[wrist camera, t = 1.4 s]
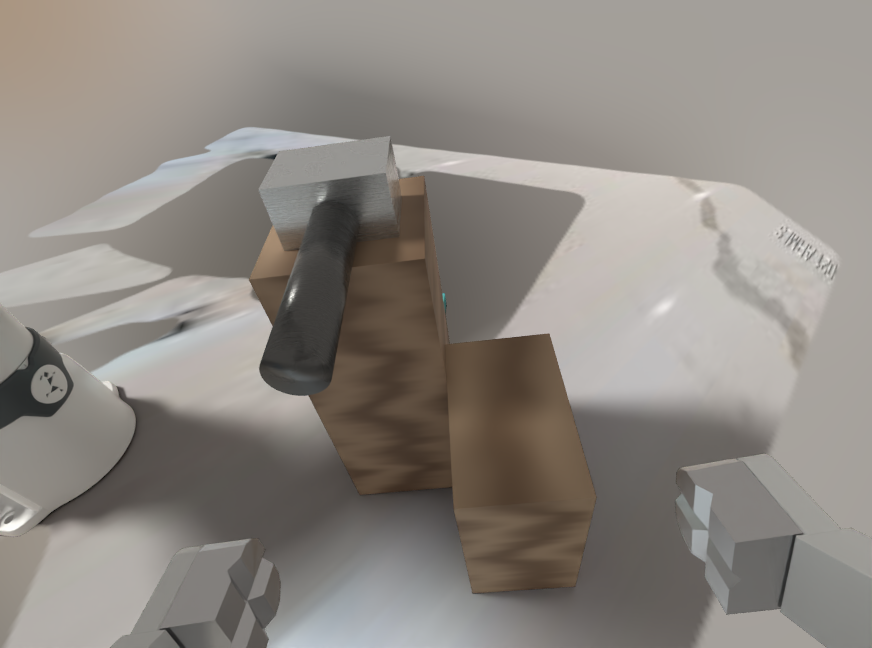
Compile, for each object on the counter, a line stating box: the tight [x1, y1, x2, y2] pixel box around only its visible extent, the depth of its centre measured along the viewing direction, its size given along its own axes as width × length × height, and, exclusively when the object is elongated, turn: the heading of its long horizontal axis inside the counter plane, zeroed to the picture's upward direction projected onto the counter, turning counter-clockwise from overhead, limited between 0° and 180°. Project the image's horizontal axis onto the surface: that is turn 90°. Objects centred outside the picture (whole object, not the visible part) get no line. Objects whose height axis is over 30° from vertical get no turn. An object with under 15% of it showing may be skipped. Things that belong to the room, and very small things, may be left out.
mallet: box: [258, 136, 402, 396], centre depth 24 cm, size 7×16×4 cm, turn 1°
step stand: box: [249, 176, 597, 593], centre depth 35 cm, size 18×19×26 cm
